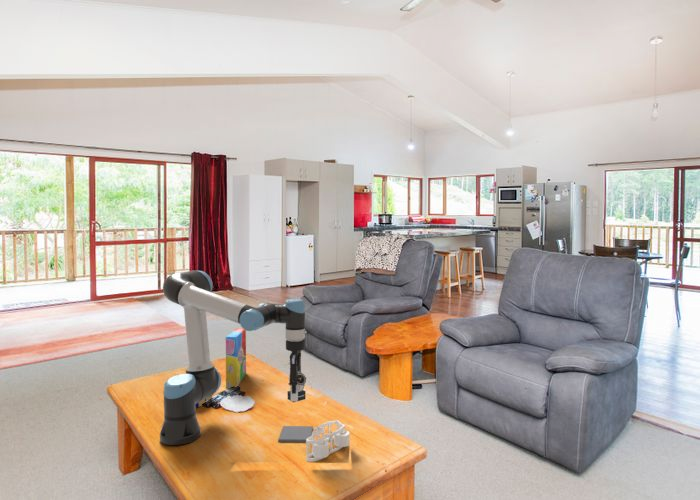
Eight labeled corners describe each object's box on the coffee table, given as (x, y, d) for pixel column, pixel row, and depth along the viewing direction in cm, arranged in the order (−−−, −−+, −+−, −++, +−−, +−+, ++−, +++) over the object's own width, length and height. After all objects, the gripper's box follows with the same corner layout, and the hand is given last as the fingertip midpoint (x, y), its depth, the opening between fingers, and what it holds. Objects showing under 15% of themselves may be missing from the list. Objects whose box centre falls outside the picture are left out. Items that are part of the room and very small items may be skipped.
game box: (236, 390, 231) (235, 337, 230) (225, 390, 231) (225, 337, 230) (246, 377, 252) (245, 328, 251) (236, 377, 252) (235, 328, 251)
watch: (296, 403, 175) (296, 375, 175) (285, 397, 181) (285, 370, 181) (308, 400, 179) (308, 372, 178) (297, 394, 185) (297, 367, 184)
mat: (278, 441, 174) (278, 439, 174) (283, 428, 186) (283, 426, 186) (309, 442, 174) (309, 439, 174) (312, 428, 186) (312, 426, 186)
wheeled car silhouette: (317, 466, 156) (317, 445, 156) (295, 456, 164) (295, 435, 163) (355, 446, 171) (355, 426, 171) (334, 437, 179) (334, 418, 178)
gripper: (301, 345, 169) (302, 407, 169) (307, 333, 189) (308, 388, 190) (281, 345, 169) (281, 407, 170) (289, 333, 189) (289, 388, 190)
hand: (295, 397), depth 180 cm, fingers closed on watch, 8 cm apart
